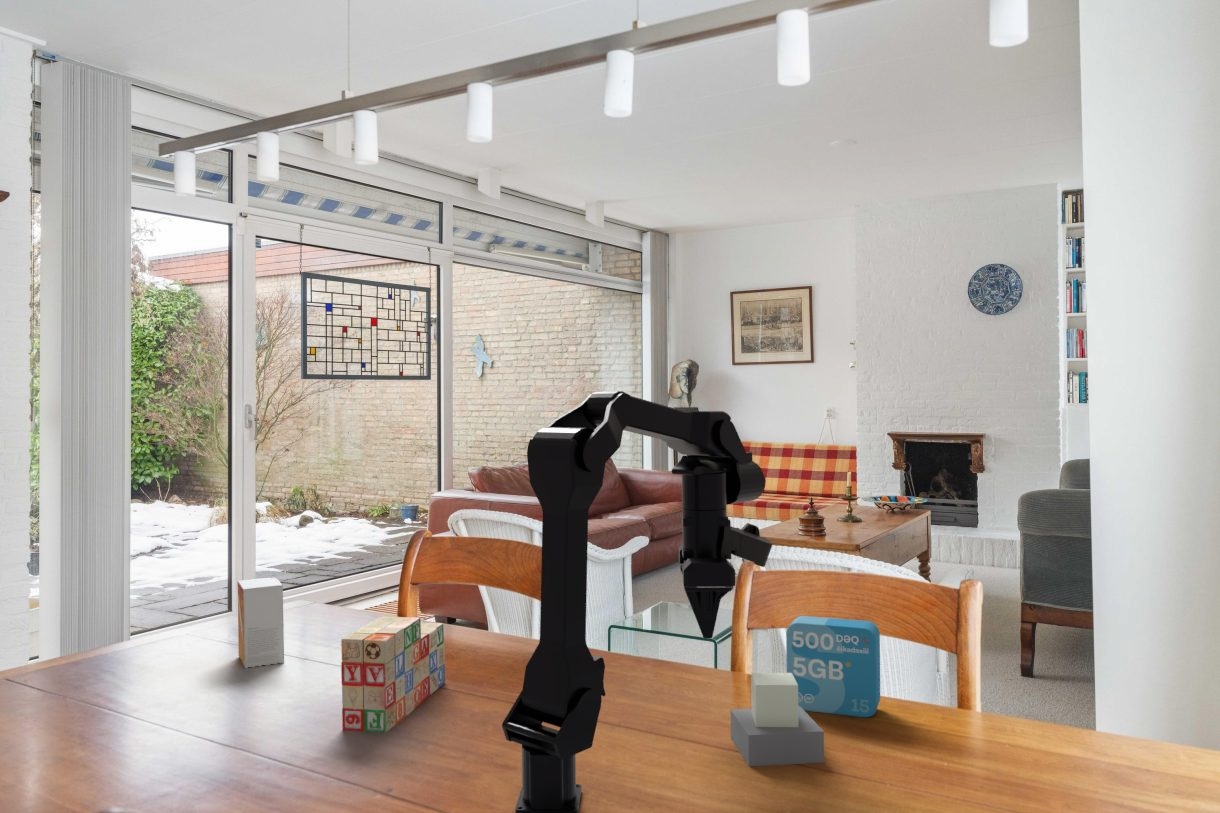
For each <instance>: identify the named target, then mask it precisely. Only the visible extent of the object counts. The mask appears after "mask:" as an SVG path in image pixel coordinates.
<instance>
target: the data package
mask: <svg viewBox="0 0 1220 813" xmlns="http://www.w3.org/2000/svg"><path fill="white" fill-rule="evenodd" d="M785 635H786V636H785V638H786V641H785V643H786V647H785V648H786V649H785V650H786V654H785V655H786V656H785V657H786V673H792V674H793V676H794V678H795V680H796V682H797V684H798V706H800V707H801V708H802V709H803V710H804V711H805V712H815V713H823V714H832V715H840V716H848V717H856V718H870V717H872V716H874V714H876V712H877V709H878V707H879V704H880V701H881V642H880V641H881V640H880V639H881V635H880V629H879V627H878V626H877V625H876V624H875V623H874V622H872V621H870V620H869V621H868V620H860V619H859V620H858V619H847V618H845V619H844V618H834V617H821V616H820V617H819V616H807V615H801V616H798V617H796V618H795V619H794V620H793V621H792V622H791V623H790V624H789V625H788V627H787V628H786V633H785Z"/></svg>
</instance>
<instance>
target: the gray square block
mask: <svg viewBox="0 0 1220 813" xmlns="http://www.w3.org/2000/svg"><path fill="white" fill-rule="evenodd" d="M824 733H825V732H824V730H823V729H822V727H820V726H819V725H818V724H817V722H816V721H815V720H814V719H813V718H812V717H811V716H810V715H809V713H807V711H804V710H803V709H802V708H801V707H800V706H798V727H756V725H755V722H754V719H753V716H752V708H737V709H736V708H735V709H730V739H731V741H732V743H733V744H734V746H735V747H736V749H737V750H738V753H739V754H740V756H742V758H743V759H744V762H745V763H746V764H747V766H748V767H764V766H765V767H766V766H783V765H799V764H800V765H801V764H803V765H805V764H820V763H821V764H822V763H823V764H824V763H825V738H824V737H825V734H824Z"/></svg>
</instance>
